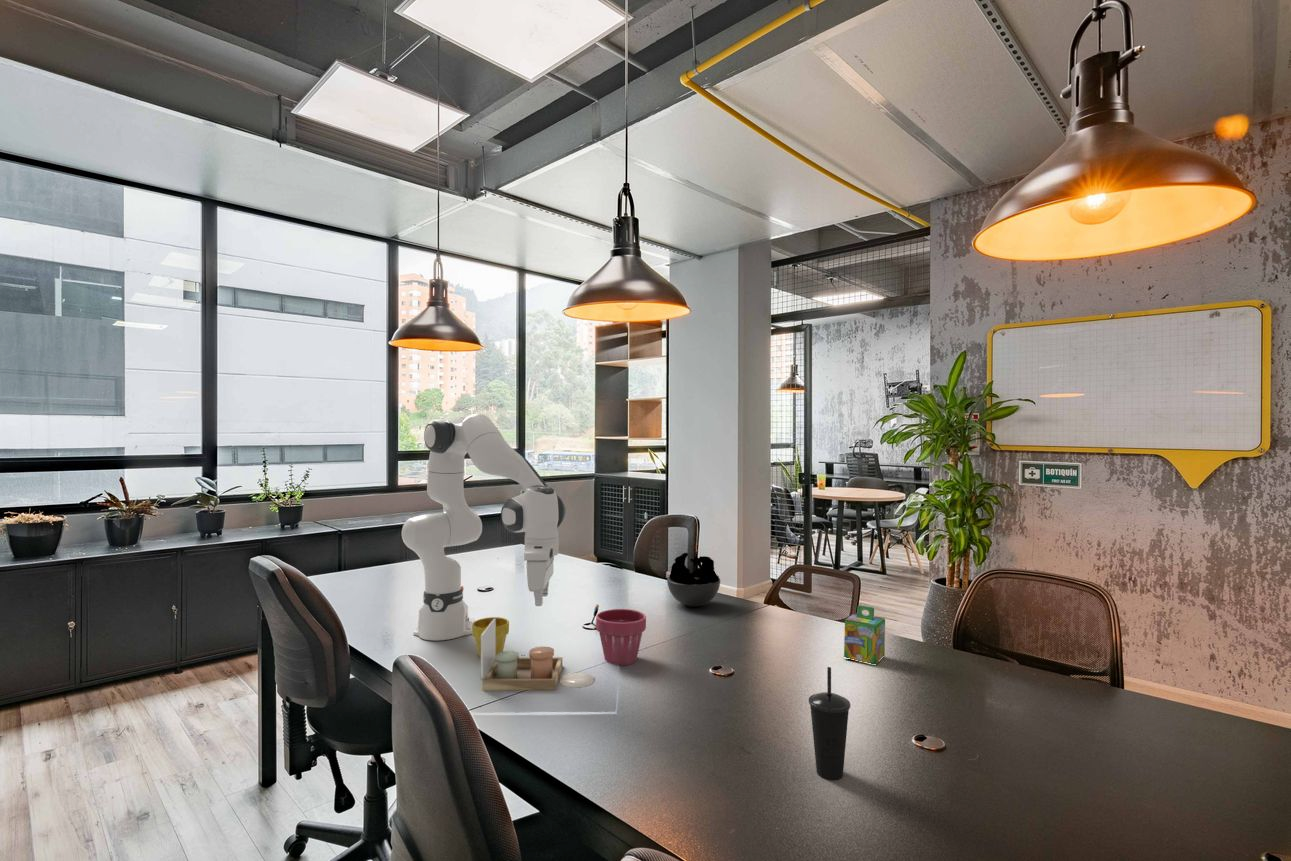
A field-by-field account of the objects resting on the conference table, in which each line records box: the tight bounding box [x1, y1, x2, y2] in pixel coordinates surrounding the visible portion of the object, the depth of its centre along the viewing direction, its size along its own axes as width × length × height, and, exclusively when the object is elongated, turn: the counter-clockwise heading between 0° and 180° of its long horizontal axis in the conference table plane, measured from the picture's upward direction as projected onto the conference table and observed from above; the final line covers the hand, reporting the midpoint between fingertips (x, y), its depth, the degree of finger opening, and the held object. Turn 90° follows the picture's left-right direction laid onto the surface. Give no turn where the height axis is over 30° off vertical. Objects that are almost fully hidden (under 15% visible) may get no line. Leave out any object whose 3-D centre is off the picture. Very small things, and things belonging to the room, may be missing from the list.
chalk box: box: [843, 605, 886, 665], centre depth 178 cm, size 9×9×15 cm
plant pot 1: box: [471, 616, 510, 658], centre depth 181 cm, size 10×10×10 cm
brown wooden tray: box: [482, 656, 563, 692], centre depth 163 cm, size 16×18×3 cm
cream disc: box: [559, 672, 595, 689], centre depth 161 cm, size 9×9×1 cm
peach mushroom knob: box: [528, 646, 555, 679], centre depth 163 cm, size 6×6×7 cm
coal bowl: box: [666, 552, 721, 607], centre depth 234 cm, size 20×20×19 cm
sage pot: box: [496, 650, 520, 679], centre depth 163 cm, size 6×6×6 cm
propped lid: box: [480, 619, 496, 682], centre depth 163 cm, size 14×1×11 cm, turn 1°
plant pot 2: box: [595, 608, 647, 666], centre depth 177 cm, size 14×14×13 cm
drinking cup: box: [808, 666, 851, 781], centre depth 118 cm, size 8×8×20 cm
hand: (541, 600), depth 163 cm, fingers open, 8 cm apart
